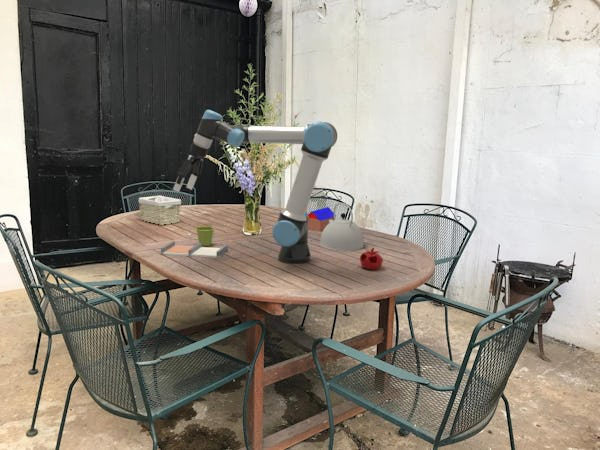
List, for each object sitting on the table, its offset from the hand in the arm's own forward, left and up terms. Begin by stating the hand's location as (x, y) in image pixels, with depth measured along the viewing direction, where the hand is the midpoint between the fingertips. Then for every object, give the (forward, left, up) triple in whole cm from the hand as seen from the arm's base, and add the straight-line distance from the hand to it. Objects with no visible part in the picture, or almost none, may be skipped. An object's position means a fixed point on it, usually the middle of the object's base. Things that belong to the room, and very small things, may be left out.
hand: (182, 189), depth 213 cm
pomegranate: (-76, +36, -32) cm, 90 cm away
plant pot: (-14, -23, -32) cm, 42 cm away
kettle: (-82, -5, -32) cm, 89 cm away
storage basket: (+1, -88, -32) cm, 94 cm away
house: (-89, -47, -32) cm, 106 cm away
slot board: (-7, -10, -32) cm, 34 cm away
